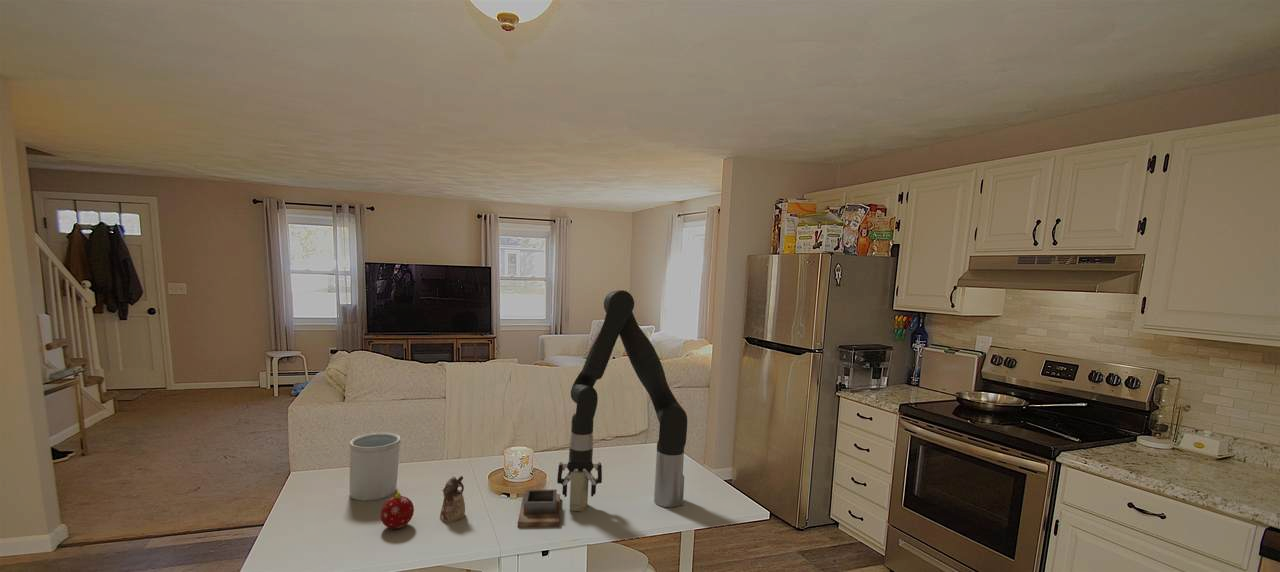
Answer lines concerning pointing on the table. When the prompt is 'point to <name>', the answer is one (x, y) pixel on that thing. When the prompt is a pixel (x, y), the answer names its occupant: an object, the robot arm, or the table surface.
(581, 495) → the skincare box
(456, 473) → the table surface
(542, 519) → the keeper board
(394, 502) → the christmas ornament
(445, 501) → the figurine
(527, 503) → the collar
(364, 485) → the utensil holder
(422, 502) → the table surface
